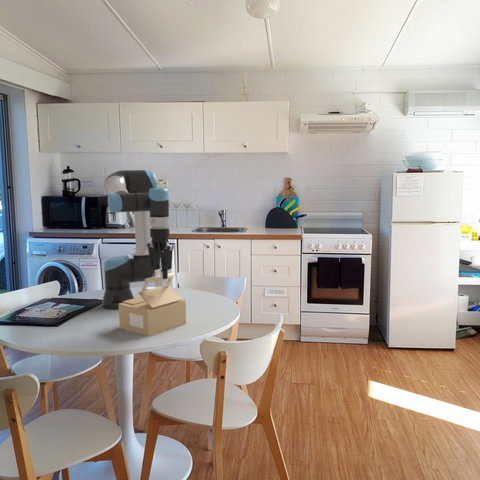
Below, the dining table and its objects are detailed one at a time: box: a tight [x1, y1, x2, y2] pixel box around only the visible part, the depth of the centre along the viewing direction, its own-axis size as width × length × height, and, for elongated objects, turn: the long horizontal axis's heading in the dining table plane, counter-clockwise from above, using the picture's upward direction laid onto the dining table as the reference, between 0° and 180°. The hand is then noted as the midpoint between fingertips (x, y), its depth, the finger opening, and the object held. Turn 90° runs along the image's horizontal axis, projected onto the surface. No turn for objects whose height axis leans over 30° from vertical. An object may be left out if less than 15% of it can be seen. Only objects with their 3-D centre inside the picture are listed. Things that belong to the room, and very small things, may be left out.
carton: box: [118, 296, 187, 337], centre depth 189 cm, size 18×20×11 cm
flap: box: [137, 272, 183, 309], centre depth 183 cm, size 10×16×8 cm
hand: (161, 286), depth 184 cm, fingers open, 3 cm apart
